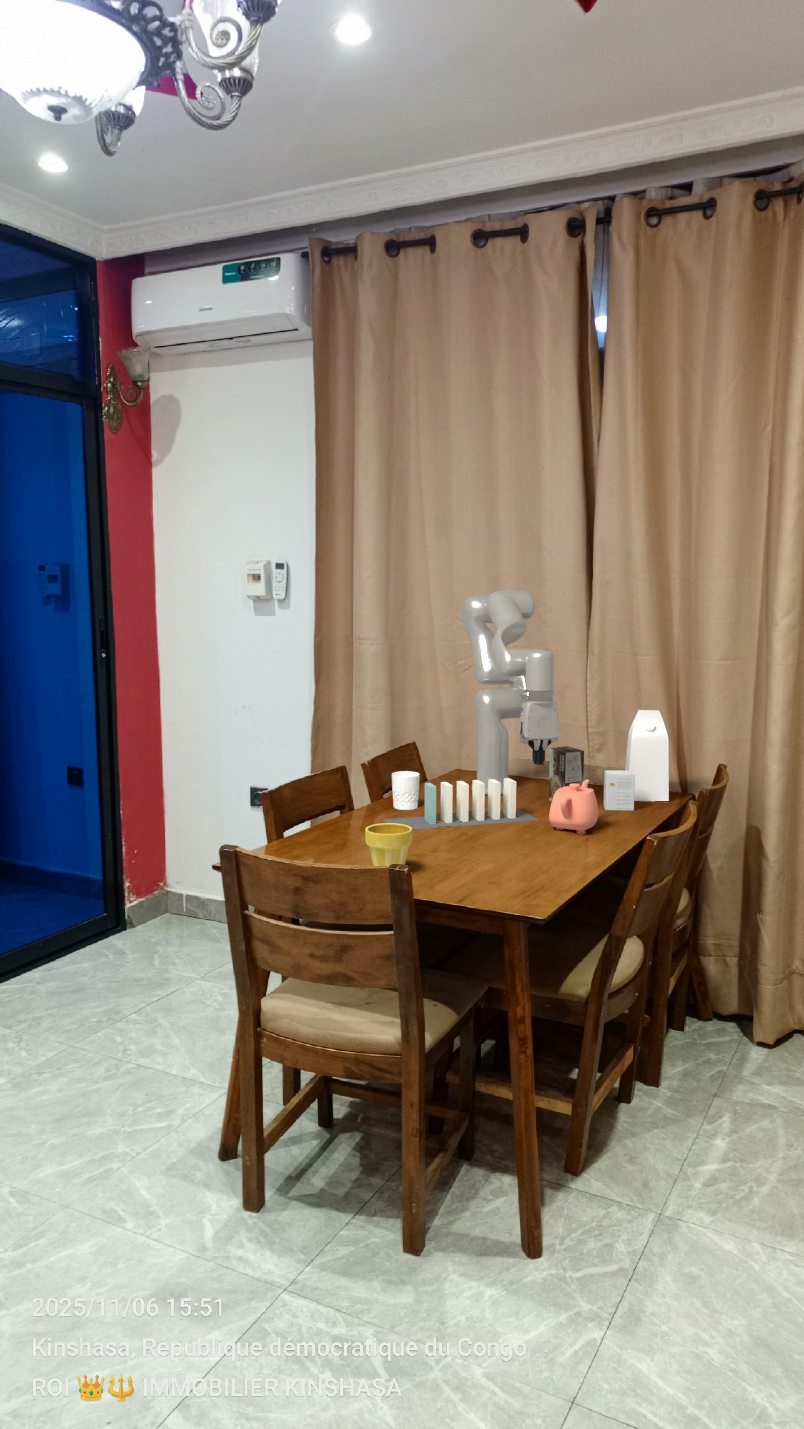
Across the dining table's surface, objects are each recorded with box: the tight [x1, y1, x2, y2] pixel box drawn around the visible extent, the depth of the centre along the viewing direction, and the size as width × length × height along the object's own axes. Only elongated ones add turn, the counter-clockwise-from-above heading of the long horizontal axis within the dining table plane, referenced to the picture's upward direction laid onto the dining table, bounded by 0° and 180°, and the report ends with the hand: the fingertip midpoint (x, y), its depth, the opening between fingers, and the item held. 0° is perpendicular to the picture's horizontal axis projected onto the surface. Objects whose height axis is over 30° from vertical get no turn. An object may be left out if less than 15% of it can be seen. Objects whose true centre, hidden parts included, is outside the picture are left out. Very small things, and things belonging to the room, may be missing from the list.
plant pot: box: [364, 822, 413, 867], centre depth 212 cm, size 10×10×10 cm
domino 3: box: [455, 780, 470, 822], centre depth 256 cm, size 5×2×10 cm, turn 16°
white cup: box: [391, 770, 421, 811], centre depth 270 cm, size 8×8×10 cm
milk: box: [624, 709, 670, 802], centre depth 284 cm, size 12×12×26 cm
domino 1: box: [424, 782, 437, 824], centre depth 253 cm, size 5×2×10 cm, turn 16°
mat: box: [382, 809, 539, 830], centre depth 256 cm, size 12×40×1 cm, turn 106°
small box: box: [603, 769, 635, 812], centre depth 271 cm, size 8×6×10 cm
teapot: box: [548, 778, 599, 835], centre depth 249 cm, size 20×12×12 cm, turn 152°
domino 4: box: [471, 779, 486, 821], centre depth 257 cm, size 5×2×10 cm, turn 16°
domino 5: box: [487, 779, 501, 820], centre depth 258 cm, size 5×2×10 cm, turn 16°
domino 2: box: [440, 781, 454, 823], centre depth 255 cm, size 5×2×10 cm, turn 16°
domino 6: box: [502, 777, 517, 819], centre depth 260 cm, size 5×2×10 cm, turn 16°
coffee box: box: [548, 746, 585, 802], centre depth 276 cm, size 9×6×16 cm
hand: (538, 764), depth 260 cm, fingers closed
